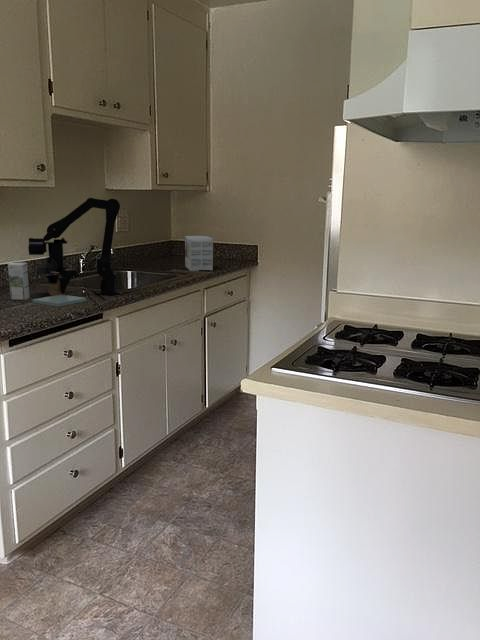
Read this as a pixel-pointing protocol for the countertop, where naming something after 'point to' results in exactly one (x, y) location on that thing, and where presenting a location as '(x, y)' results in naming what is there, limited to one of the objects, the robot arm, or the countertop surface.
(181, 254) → the countertop surface
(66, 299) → the plate
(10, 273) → the syrup box
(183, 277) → the countertop surface
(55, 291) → the walnut cube
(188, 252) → the supplement box
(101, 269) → the robot arm
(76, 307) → the countertop surface
